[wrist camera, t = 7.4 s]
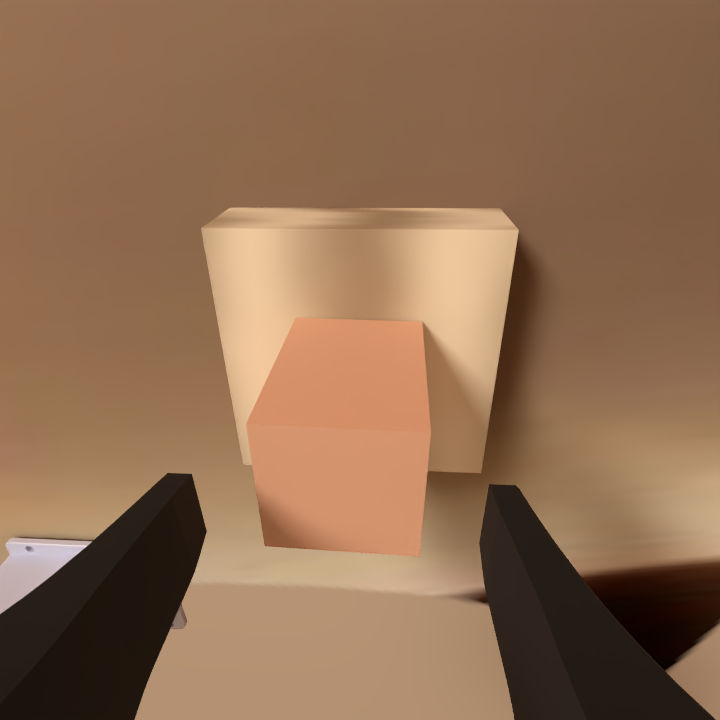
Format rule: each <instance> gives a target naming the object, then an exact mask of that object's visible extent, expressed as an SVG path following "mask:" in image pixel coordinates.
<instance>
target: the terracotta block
mask: <svg viewBox="0 0 720 720" xmlns="http://www.w3.org/2000/svg"><path fill="white" fill-rule="evenodd" d="M246 428H247V434H248V441H249V447H250V454H251V460H252V466H253V473H254V479H255V486H256V492H257V499H258V505H259V512H260V518H261V524H262V531H263V537H264V544H265V546H271V547H286V548H301V549H315V550H330V551H345V552H360V553H375V554H389V555H404V556H419V555H420V544H421V534H422V523H423V513H424V502H425V491H426V481H427V470H428V460H429V449H430V439H431V426H430V413H429V401H428V388H427V375H426V363H425V350H424V337H423V325H422V322H415V321H385V320H354V319H324V318H295V320H294V322H293V324H292V326H291V328H290V330H289V333H288V335H287V337H286V339H285V341H284V343H283V345H282V348H281V350H280V352H279V354H278V356H277V358H276V360H275V363H274V365H273V367H272V369H271V371H270V373H269V375H268V378H267V380H266V382H265V384H264V386H263V388H262V390H261V392H260V395H259V397H258V399H257V401H256V403H255V405H254V407H253V410H252V412H251V414H250V416H249V418H248V420H247V422H246Z"/></svg>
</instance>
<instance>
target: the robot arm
mask: <svg viewBox="0 0 720 720" xmlns="http://www.w3.org/2000/svg"><path fill="white" fill-rule="evenodd" d="M206 532H207V531H206V527H205V523H204V519H203V515H202V512H201V508H200V504H199V500H198V496H197V492H196V489H195V485H194V481H193V477H192V474H177V473H167V474H166V475H165V476H164V477H163V478H162V479H161V480H160V481H158V482H157V483H156V484H155V485H154V486H153V487H152V488H151V489H150V490H149V491H148V492H146V493H145V494H144V495H143V496H142V497H141V498H140V499H139V500H138V501H137V502H136V503H135V504H133V505H132V506H131V507H130V508H129V509H128V510H127V511H126V512H125V513H124V514H123V515H121V516H120V517H119V518H118V519H117V520H116V521H115V522H114V523H113V524H111V525H110V526H109V527H108V528H107V529H106V530H105V531H104V532H103V533H101V534H100V535H99V536H98V537H97V538H96V539H95V540H94V541H75V540H53V539H31V538H11V539H10V540H9V541H8V542H7V543H6V548H7V550H8V551H9V553H10V555H9V556H8V558H7V559H6V560H5V561H4V562H3V564H2V565H1V566H0V720H134V719H135V716H136V713H137V710H138V707H139V704H140V701H141V698H142V695H143V692H144V689H145V687H146V684H147V682H148V679H149V677H150V674H151V672H152V669H153V667H154V664H155V662H156V660H157V658H158V655H159V653H160V651H161V648H162V646H163V644H164V642H165V639H166V637H167V635H168V632H169V630H170V628H172V629H182V628H184V627H185V625H186V623H187V619H186V617H185V614H184V611H183V608H182V605H181V603H182V600H183V598H184V596H185V593H186V591H187V589H188V586H189V584H190V582H191V579H192V577H193V575H194V572H195V569H196V566H197V563H198V559H199V556H200V553H201V549H202V546H203V542H204V539H205V535H206ZM480 552H481V560H482V569H483V576H484V584H485V589H486V594H487V598H488V603H489V607H490V611H491V616H492V620H493V624H494V628H495V633H496V637H497V641H498V645H499V650H500V654H501V658H502V662H503V667H504V671H505V675H506V679H507V684H508V688H509V693H510V698H511V703H512V708H513V713H514V719H515V720H715V719H714V718H713V717H712V716H711V715H710V714H709V713H708V712H707V711H706V710H705V709H703V707H702V706H701V705H699V704H698V703H697V702H696V701H695V700H694V699H693V698H692V697H691V696H690V695H689V694H688V693H687V692H686V691H684V689H682V688H681V687H680V686H679V685H678V684H677V683H676V682H675V681H674V680H673V679H672V678H671V677H670V676H669V675H668V674H667V673H666V672H665V671H664V670H663V669H662V668H661V667H660V666H659V665H658V664H657V663H656V662H655V660H654V659H653V658H652V657H651V656H650V655H649V654H648V653H647V652H646V651H645V650H644V649H643V648H642V647H641V646H640V645H639V644H638V643H637V642H636V640H635V639H634V638H633V637H632V636H631V635H630V634H629V633H628V632H627V631H626V630H625V628H624V627H623V626H622V625H621V624H620V623H619V622H618V621H617V619H616V618H615V617H614V616H613V615H612V614H611V613H610V611H609V610H608V609H607V608H606V607H605V606H604V604H603V603H602V602H601V601H600V599H599V598H598V597H597V596H596V595H595V593H594V592H593V591H592V590H591V589H590V587H589V586H588V585H587V584H586V582H585V581H584V580H583V579H582V577H581V576H580V575H579V574H578V572H577V571H576V570H575V568H574V567H573V566H572V564H571V563H570V562H569V560H568V559H567V558H566V556H565V555H564V554H563V552H562V551H561V550H560V548H559V547H558V546H557V544H556V543H555V542H554V540H553V539H552V537H551V536H550V535H549V533H548V532H547V530H546V529H545V527H544V526H543V524H542V523H541V522H540V520H539V519H538V517H537V516H536V514H535V513H534V511H533V510H532V508H531V507H530V505H529V503H528V502H527V500H526V499H525V497H524V496H523V494H522V493H521V491H520V489H519V488H518V487H517V486H516V485H492V484H489V488H488V495H487V501H486V507H485V513H484V519H483V525H482V531H481V537H480Z"/></svg>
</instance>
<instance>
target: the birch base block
mask: <svg viewBox="0 0 720 720" xmlns="http://www.w3.org/2000/svg"><path fill="white" fill-rule="evenodd" d="M201 230H202V235H203V241H204V247H205V252H206V258H207V264H208V269H209V275H210V280H211V286H212V292H213V297H214V303H215V308H216V314H217V320H218V325H219V331H220V336H221V342H222V348H223V353H224V359H225V364H226V370H227V376H228V381H229V387H230V392H231V398H232V404H233V409H234V415H235V420H236V426H237V432H238V437H239V443H240V449H241V454H242V460H243V464H250V465H252V460H251V454H250V447H249V441H248V434H247V428H246V422H247V420H248V418H249V416H250V414H251V412H252V410H253V407H254V405H255V403H256V401H257V399H258V397H259V395H260V392H261V390H262V388H263V386H264V384H265V382H266V380H267V378H268V375H269V373H270V371H271V369H272V367H273V365H274V363H275V360H276V358H277V356H278V354H279V352H280V350H281V348H282V345H283V343H284V341H285V339H286V337H287V335H288V333H289V330H290V328H291V326H292V324H293V322H294V320H295V318H324V319H354V320H385V321H415V322H422V325H423V337H424V350H425V363H426V375H427V388H428V401H429V413H430V426H431V439H430V449H429V460H428V470H427V471H436V472H463V473H481V470H482V463H483V457H484V451H485V444H486V438H487V431H488V425H489V418H490V412H491V406H492V399H493V393H494V386H495V380H496V373H497V367H498V361H499V354H500V348H501V341H502V335H503V328H504V322H505V316H506V309H507V303H508V296H509V290H510V283H511V277H512V271H513V264H514V258H515V251H516V245H517V238H518V232H519V230H518V228H517V227H516V226H515V225H514V224H513V223H512V222H511V220H510V219H509V218H508V217H507V216H506V215H505V214H504V212H503V211H502V210H501V209H500V208H229V209H228V210H226V211H225V212H223V213H222V214H221V215H219V216H218V217H216V218H215V219H214V220H212V221H211V222H209V223H208V224H207V225H205V226H204V227H202V228H201Z"/></svg>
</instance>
